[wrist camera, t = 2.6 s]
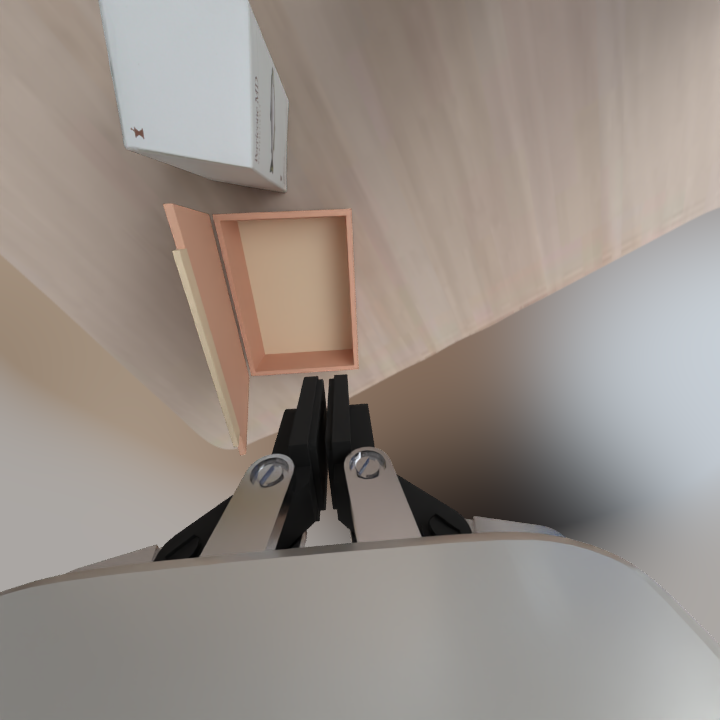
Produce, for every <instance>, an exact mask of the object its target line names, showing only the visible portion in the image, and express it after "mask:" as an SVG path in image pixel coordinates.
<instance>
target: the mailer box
mask: <svg viewBox="0 0 720 720" xmlns="http://www.w3.org/2000/svg"><path fill="white" fill-rule="evenodd" d="M212 215H213V219H214V223H215V227H216V232H217V236H218V240H219V244H220V248H221V252H222V256H223V260H224V265H225V269H226V273H227V277H228V281H229V285H230V289H231V293H232V298H233V302H234V306H235V310H236V314H237V318H238V322H239V326H240V330H241V335H242V339H243V343H244V347H245V351H246V355H247V359H248V363H249V368H250V372H251V376H260V375H276V374H291V373H306V372H322V371H337V370H353V369H359V364H358V342H357V321H356V299H355V277H354V255H353V234H352V212H351V209H332V210H307V211H283V212H258V213H234V214H212Z"/></svg>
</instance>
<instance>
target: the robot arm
mask: <svg viewBox="0 0 720 720" xmlns="http://www.w3.org/2000/svg"><path fill="white" fill-rule="evenodd" d="M328 472H329V480H330V488H331V496H332V504H333V509H337V513H338V520H339V521H341V522H342V523H343V524H344V525H345V526H346V527H347V528H349V529H350V538H351V543H347V544H336V545H326V546H314V547H305V543H306V539H307V529H308V528H309V527H310V526H311V525H312V524H313V523H314V522H315V521H320V511H321V510H326V496H327V475H328ZM0 720H720V644H719V643H718V642H717V641H716V640H715V639H714V638H713V637H712V636H711V635H710V634H709V633H708V632H707V631H706V630H705V629H704V627H703V626H701V624H700V623H699V622H697V620H695V619H694V617H692V616H691V614H690V613H688V611H686V610H685V609H684V608H683V607H682V606H681V605H680V604H679V603H678V602H677V601H676V600H675V599H674V598H673V597H672V596H671V595H670V594H669V593H668V592H667V591H666V590H665V589H664V588H662V587H661V586H660V585H659V584H658V583H657V582H656V581H654V580H653V579H652V578H651V577H649V576H648V575H647V574H646V573H644V572H643V571H641V570H640V569H639V568H637V567H636V566H635V565H633V564H632V563H630V562H628V561H626V560H625V559H623V558H621V557H619V556H617V555H615V554H613V553H610V552H608V551H606V550H604V549H601V548H598V547H595V546H593V545H590V544H586V543H583V542H579V541H576V540H572V539H568V538H566V537H565V536H564V535H562V534H561V533H559V532H557V531H555V530H554V529H551V528H548V527H544V526H539V525H532V524H525V523H518V522H511V521H504V520H497V519H490V518H483V517H476V516H474V518H473V520H469V519H464V517H463V516H461V515H460V514H459V513H458V512H456V511H455V510H453V509H452V508H450V507H449V506H447V505H445V504H444V503H442V502H440V501H439V500H437V499H436V498H434V497H432V496H431V495H429V494H428V493H426V492H424V491H423V490H421V489H419V488H418V487H416V486H415V485H413V484H411V483H410V482H408V481H406V480H405V479H403V478H402V477H400V476H398V475H397V474H396V472H395V470H394V468H393V465H392V463H391V460H390V458H389V457H388V455H387V454H386V453H384V452H383V451H382V450H380V449H377V448H375V447H374V441H373V434H372V428H371V422H370V415H369V408H368V404H356V405H349V394H348V379H347V374H345V375H334V379H329V391H328V406H327V408H326V399H325V390H324V381H323V379H321V380H319V379H318V376H314V377H304V380H303V385H302V389H301V393H300V397H299V402H298V406H297V409H286V410H285V412H284V415H283V418H282V421H281V425H280V428H279V432H278V435H277V438H276V442H275V445H274V448H273V452H272V454H271V455H267V456H264V457H262V458H260V459H258V460H257V461H255V462H254V463H253V464H252V465H251V466H250V467H249V468H248V470H247V471H246V473H245V475H244V477H243V478H242V480H241V482H240V484H239V486H238V488H237V489H236V491H235V493H234V495H232V496H231V497H229V498H228V499H227V500H225V501H223V502H222V503H221V504H219V505H218V506H217V507H215V508H214V509H212V510H211V511H209V512H208V513H206V514H205V515H204V516H202V517H201V518H199V519H198V520H196V521H195V522H194V523H192V524H191V525H189V526H188V527H186V528H185V529H184V530H182V531H181V532H180V533H178V534H177V535H175V536H174V537H173V538H172V539H170V540H169V541H168V542H167V543H166V544H165V545H164V546H163V547H161V548H159V547H158V546H157V545H153V546H150V547H147V548H143V549H140V550H137V551H134V552H130V553H127V554H124V555H120V556H117V557H114V558H110V559H107V560H104V561H101V562H97V563H94V564H91V565H87V566H84V567H81V568H78V569H75V570H73V571H70V572H68V573H66V574H63V575H58V576H54V577H49V578H45V579H41V580H37V581H34V582H30V583H27V584H24V585H21V586H18V587H15V588H11V589H8V590H5V591H2V592H0Z"/></svg>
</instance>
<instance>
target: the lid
mask: <svg viewBox="0 0 720 720" xmlns="http://www.w3.org/2000/svg"><path fill="white" fill-rule="evenodd" d="M163 206H164V209H165V212H166V216H167V219H168V222H169V225H170V229H171V232H172V235H173V238H174V242H175V245H176V248H177V250H174V251H172V253H173V256H174V259H175V262H176V266H177V269H178V272H179V275H180V278H181V281H182V285H183V288H184V291H185V294H186V297H187V300H188V304H189V307H190V310H191V313H192V316H193V319H194V323H195V326H196V329H197V332H198V335H199V338H200V342H201V345H202V348H203V351H204V354H205V357H206V361H207V364H208V367H209V370H210V373H211V376H212V380H213V383H214V386H215V389H216V392H217V395H218V399H219V402H220V405H221V408H222V411H223V414H224V418H225V421H226V424H227V427H228V430H229V433H230V437H231V440H232V443H233V446H234V447H237V446H238V449H239V453H240V455H244V454H246V445H247V422H248V399H249V374H248V370H247V366H246V362H245V358H244V354H243V350H242V346H241V342H240V338H239V334H238V330H237V326H236V322H235V318H234V314H233V310H232V306H231V302H230V298H229V294H228V290H227V286H226V281H225V277H224V273H223V269H222V265H221V261H220V257H219V253H218V249H217V245H216V241H215V237H214V233H213V229H212V225H211V221H210V217H209V214H206V213H203V212H199V211H196V210H193V209H189V208H186V207H182V206H179V205H175V204H163Z"/></svg>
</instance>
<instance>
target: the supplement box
mask: <svg viewBox="0 0 720 720" xmlns="http://www.w3.org/2000/svg"><path fill="white" fill-rule="evenodd" d="M98 1H99V6H100V12H101V18H102V24H103V29H104V35H105V40H106V46H107V51H108V57H109V65H110V70H111V75H112V79H113V84H114V90H115V96H116V101H117V107H118V112H119V118H120V124H121V129H122V135H123V142H124V146H125V148H126V149H127V150H130V151H132V152H135V153H138V154H141V155H144V156H147V157H149V158H152V159H155V160H158V161H161V162H163V163H166V164H169V165H172V166H174V167H177V168H180V169H183V170H186V171H188V172H191V173H194V174H197V175H199V176H202V177H205V178H208V179H210V180H214V181H220V182H225V183H231V184H236V185H241V186H247V187H253V188H259V189H265V190H271V191H277V192H284V193H285V192H287V178H286V163H287V129H288V110H289V101H288V98H287V96H286V93H285V91H284V88H283V85H282V83H281V80H280V78H279V75H278V73H277V70H276V68H275V65H274V63H273V61H272V58H271V55H270V53H269V51H268V48H267V46H266V43H265V41H264V38H263V36H262V34H261V31H260V28H259V26H258V23H257V21H256V19H255V16H254V14H253V11H252V9H251V6H250V3H249V1H248V0H98Z"/></svg>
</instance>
